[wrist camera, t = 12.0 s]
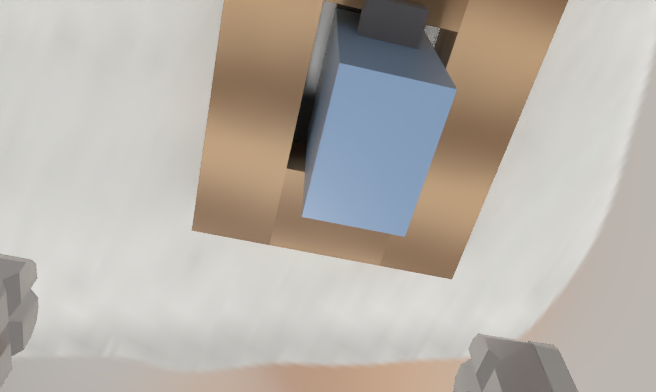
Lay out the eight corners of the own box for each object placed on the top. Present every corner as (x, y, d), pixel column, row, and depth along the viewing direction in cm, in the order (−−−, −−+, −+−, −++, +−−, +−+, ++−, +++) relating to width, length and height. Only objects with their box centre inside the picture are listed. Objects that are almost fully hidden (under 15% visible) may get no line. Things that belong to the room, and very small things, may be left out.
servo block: (344, -27, 25) (350, 16, 18) (433, -6, 26) (472, 45, 19) (301, 157, 30) (293, 249, 23) (378, 173, 30) (393, 267, 23)
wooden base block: (254, -148, 23) (244, -149, 21) (564, -67, 25) (592, -58, 22) (203, 198, 31) (191, 230, 28) (441, 245, 32) (451, 279, 30)
